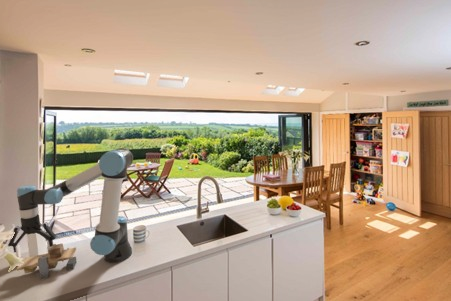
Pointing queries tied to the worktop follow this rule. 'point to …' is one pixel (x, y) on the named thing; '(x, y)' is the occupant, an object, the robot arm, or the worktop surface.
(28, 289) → the worktop surface
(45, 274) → the fulcrum
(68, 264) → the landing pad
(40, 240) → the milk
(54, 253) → the block
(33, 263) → the tan piece
